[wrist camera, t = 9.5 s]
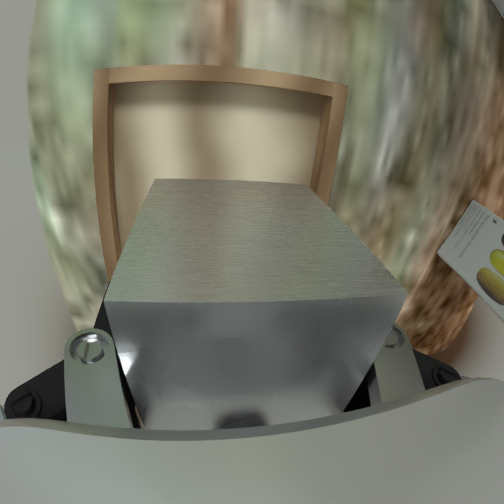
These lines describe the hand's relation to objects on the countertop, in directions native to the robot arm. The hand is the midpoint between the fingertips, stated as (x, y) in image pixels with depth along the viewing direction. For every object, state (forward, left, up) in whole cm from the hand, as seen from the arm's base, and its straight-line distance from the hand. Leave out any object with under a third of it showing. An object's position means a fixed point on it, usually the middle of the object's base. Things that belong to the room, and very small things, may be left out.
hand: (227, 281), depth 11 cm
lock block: (0, 0, -1) cm, 1 cm away
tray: (0, 0, -16) cm, 16 cm away
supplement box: (-35, +6, -17) cm, 39 cm away
